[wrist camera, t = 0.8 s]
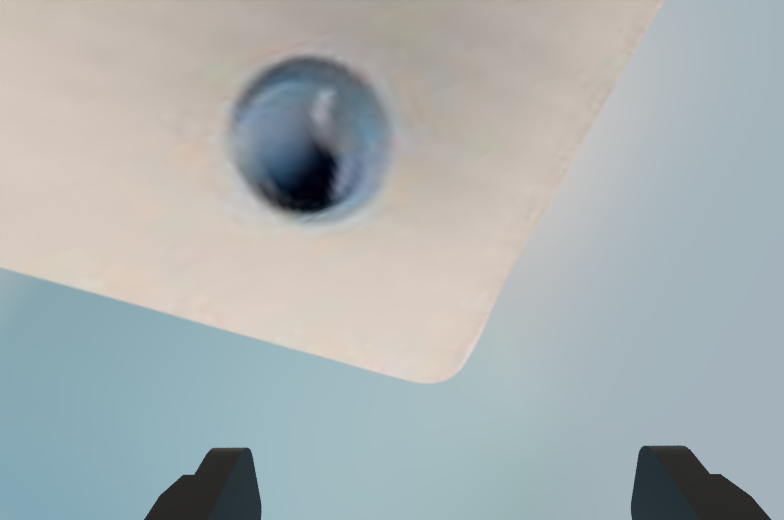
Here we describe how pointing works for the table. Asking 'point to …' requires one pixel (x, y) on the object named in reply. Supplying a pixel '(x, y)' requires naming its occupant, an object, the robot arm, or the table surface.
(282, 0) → the table surface
